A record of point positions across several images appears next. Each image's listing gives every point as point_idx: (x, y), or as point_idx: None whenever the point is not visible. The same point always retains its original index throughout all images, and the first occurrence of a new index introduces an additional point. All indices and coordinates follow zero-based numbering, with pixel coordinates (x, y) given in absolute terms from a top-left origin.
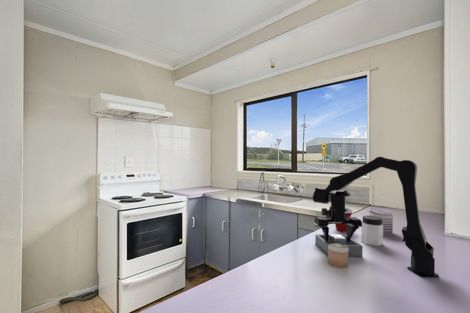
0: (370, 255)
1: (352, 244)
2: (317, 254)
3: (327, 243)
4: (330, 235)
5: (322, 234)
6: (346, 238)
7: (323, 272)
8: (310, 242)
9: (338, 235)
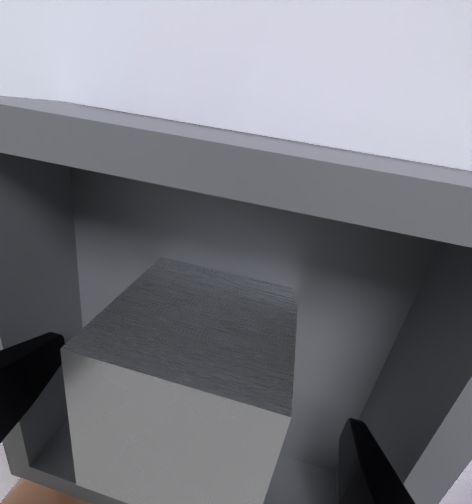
0: (459, 477)
1: (381, 442)
2: None
3: (15, 438)
4: (67, 383)
5: (41, 112)
6: (467, 331)
7: (6, 481)
8: (14, 19)
9: (207, 438)
